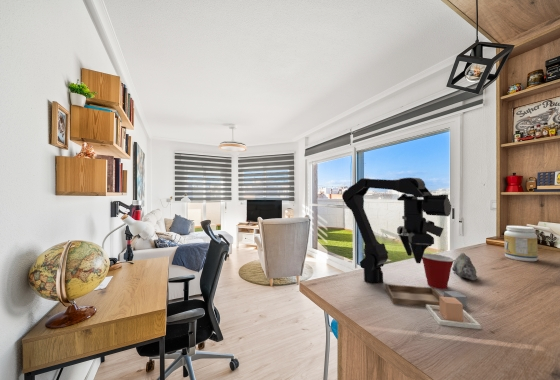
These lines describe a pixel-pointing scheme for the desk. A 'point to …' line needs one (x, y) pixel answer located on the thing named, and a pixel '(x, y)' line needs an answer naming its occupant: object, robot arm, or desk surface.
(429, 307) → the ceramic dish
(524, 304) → the desk surface
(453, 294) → the slate rubber block
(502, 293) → the desk surface
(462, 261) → the mineral rock
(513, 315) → the desk surface
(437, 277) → the plastic cup
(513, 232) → the supplement tub
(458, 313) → the terracotta block
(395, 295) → the walnut box
